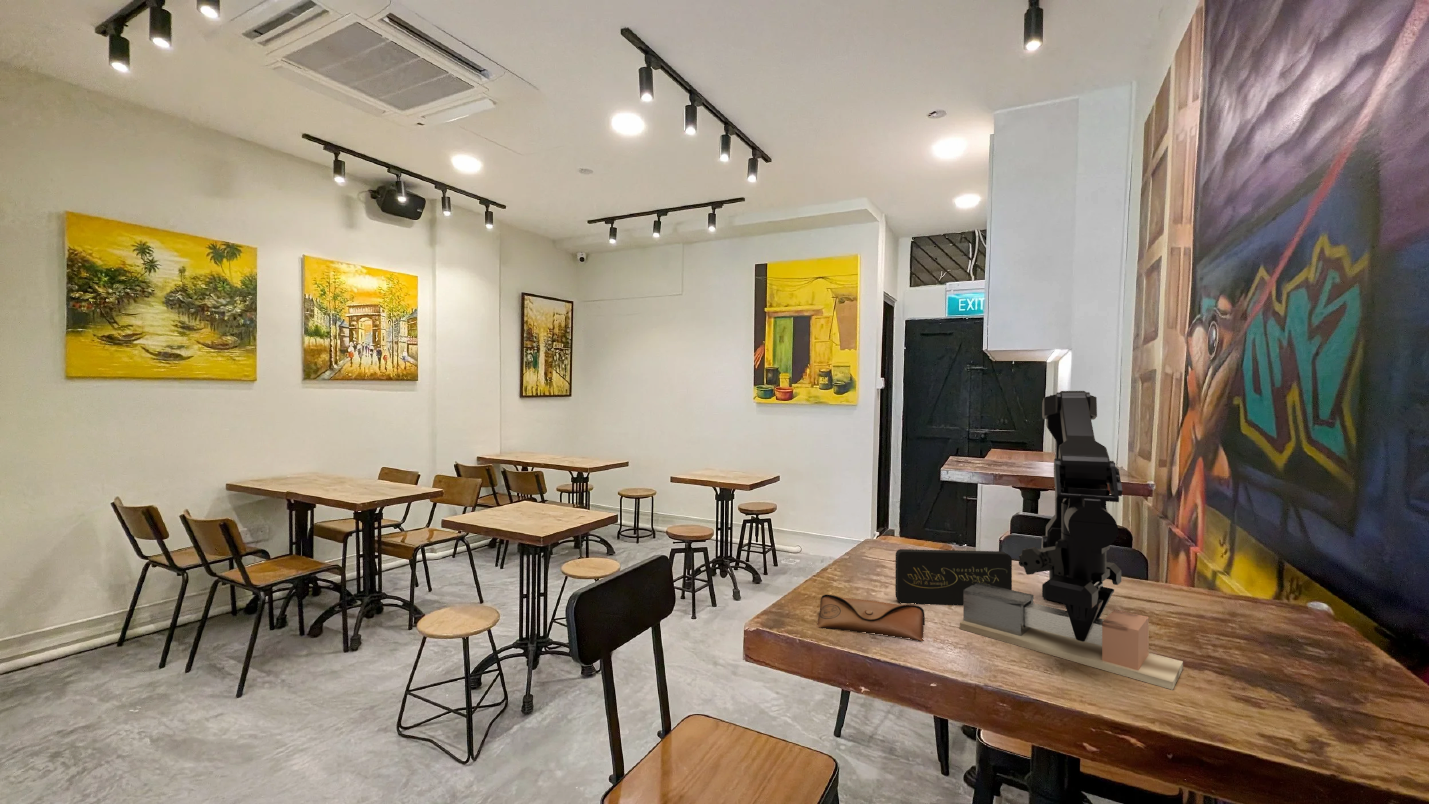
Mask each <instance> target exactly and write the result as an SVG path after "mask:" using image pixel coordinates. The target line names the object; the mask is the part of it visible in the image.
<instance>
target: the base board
mask: <svg viewBox="0 0 1429 804" xmlns="http://www.w3.org/2000/svg"><path fill="white" fill-rule="evenodd" d="M959 629H960V630H963V631H966V632H970V633H973V634H975V635H980V636H983V637H987V638H991V639H994V640H998V641H1000V642H1004V643H1007V644H1012V645H1015V646H1019V647H1022V648H1025V649H1029V650H1032V651H1036V652H1040V653H1042V654H1046V655H1050V656H1054V657H1057V658H1061V659H1064V660H1068V661H1070V662H1074V663H1078V664H1081V665H1085V666H1088V667H1092V668H1095V669H1099V670H1103V671H1106V672H1109V673H1112V674H1115V675H1116V674H1117V675H1119V676H1122V677H1123V676H1124V677H1127V678H1131V679H1134V680H1138V681H1141V682H1144V683H1148V684H1150V685H1154V686H1158V687H1161V688H1165V689H1168V690H1172V691H1173V690H1174V688H1175V686H1176V684H1177V682H1178V680H1179V679H1180V676H1181V673H1182V672H1183V669H1184V661H1183V660H1179V659H1176V658H1175V659H1174V658H1171V657H1167V656H1163V655H1159V654H1155V653H1152V652H1149V655H1148V657H1147V658H1146V660H1145V661H1144V663H1143V664H1142V666H1141V667H1140V669H1139V670H1135V669H1131V668H1128V667H1124V666H1120V665H1117V664H1113V663H1110V662H1106V661H1102V646H1100V645H1097V644H1093V643H1089V642H1085V641H1084V642H1082V641H1078V640H1076V639H1074V638H1070V637H1066V636H1062V635H1058V634H1054V633H1051V632H1047V631H1043V630H1039V629H1035V628H1031V629H1030V630H1028V631H1027V632H1026V633H1024V634H1023V635H1022V636H1018V635H1014V634H1011V633H1007V632H1003V631H1000V630H996V629H992V628H989V627H985V626H981V625H978V624H974V623H970V622H967V621H963V620H962V621H960V622H959Z"/></svg>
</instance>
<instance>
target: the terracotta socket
mask: <svg viewBox="0 0 1429 804" xmlns="http://www.w3.org/2000/svg"><path fill="white" fill-rule="evenodd" d="M1149 618H1150V617H1149V616H1147V615H1146V616H1145V615H1141V614H1137V613H1132V612H1128V611H1123V610H1120V609H1113V610H1112V611H1111V612H1110V613H1109V615H1107V616H1106V617H1105V619H1104V621H1103V622H1102V661H1106V662H1110V663H1113V664H1117V665H1120V666H1124V667H1128V668H1131V669H1135V670H1139V669H1140V667H1141V666H1142V664H1143V663H1144V661H1145V660H1146V658H1147V657H1148V655H1149V653H1150V652H1149V651H1150V650H1149V649H1150V645H1149V644H1150V641H1149V639H1150V634H1149V629H1150V623H1149V621H1150V620H1149Z"/></svg>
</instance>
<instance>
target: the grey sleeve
mask: <svg viewBox="0 0 1429 804" xmlns="http://www.w3.org/2000/svg"><path fill="white" fill-rule="evenodd" d="M1028 602H1031V603H1034V594H1032V593H1026V592H1021V591H1017V590H1013V589H1012V590H1009V589H1005V588H1000V587H996V586H991V585H987V584H982V583H976V584H974V585H972V586H970V587H968V588H966V589H964V604H963V606H962V608H963V618H962V619H963V620H962V621H967V622H970V623H974V624H978V625H981V626H985V627H989V628H992V629H996V630H1000V631H1003V632H1007V633H1011V634H1014V635H1018V636H1022V635H1023V634H1024V633H1026V632H1027V631H1028V630H1030V629H1031V627H1028V626H1024V625H1023V605H1025V604H1026V603H1028Z"/></svg>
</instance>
